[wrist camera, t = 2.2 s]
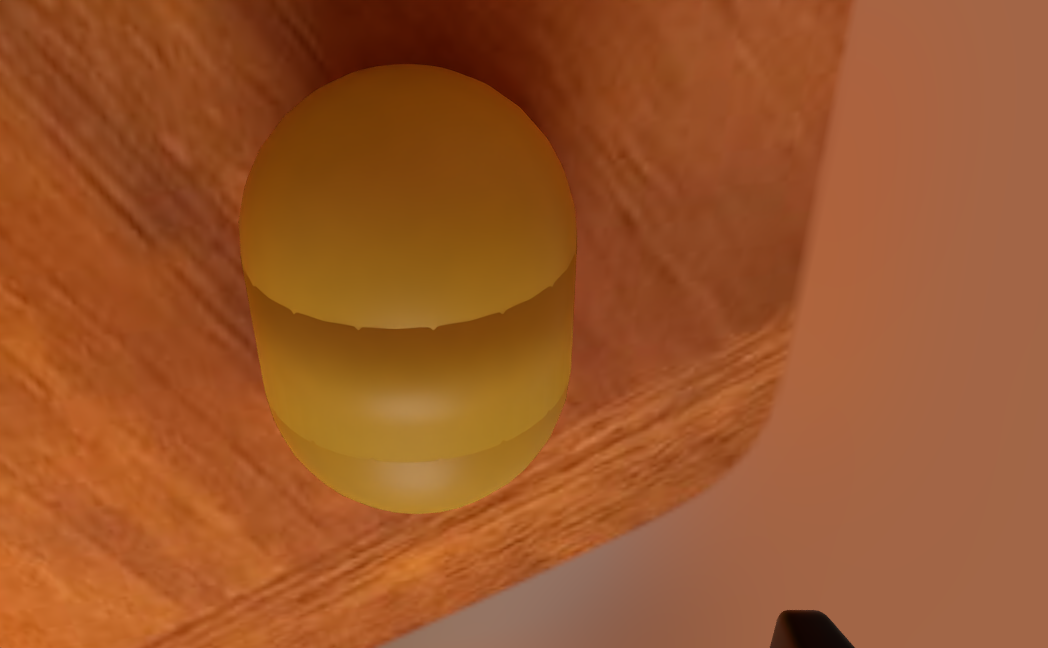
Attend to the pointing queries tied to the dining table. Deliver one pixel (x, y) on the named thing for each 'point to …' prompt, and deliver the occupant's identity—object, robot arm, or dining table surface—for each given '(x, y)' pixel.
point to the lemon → (411, 285)
